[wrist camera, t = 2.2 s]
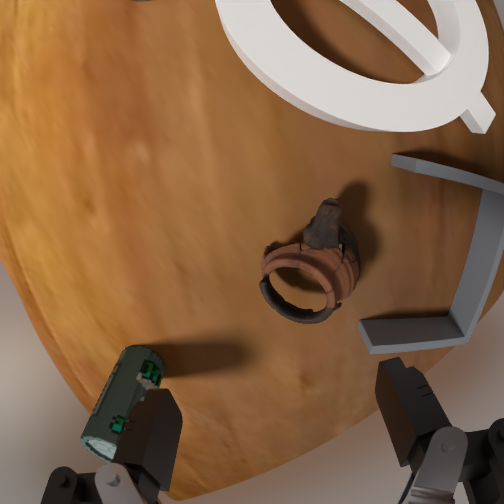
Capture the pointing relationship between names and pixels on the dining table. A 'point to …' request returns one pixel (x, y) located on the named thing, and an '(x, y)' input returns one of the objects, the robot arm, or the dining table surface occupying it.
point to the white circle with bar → (364, 89)
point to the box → (471, 283)
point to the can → (121, 399)
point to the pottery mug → (317, 263)
